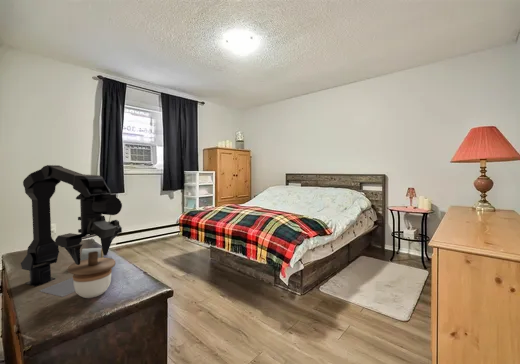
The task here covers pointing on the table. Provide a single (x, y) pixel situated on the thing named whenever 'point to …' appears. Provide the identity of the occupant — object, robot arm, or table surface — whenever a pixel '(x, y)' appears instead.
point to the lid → (91, 265)
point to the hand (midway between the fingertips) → (92, 259)
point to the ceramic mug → (85, 251)
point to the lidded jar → (92, 284)
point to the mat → (60, 288)
